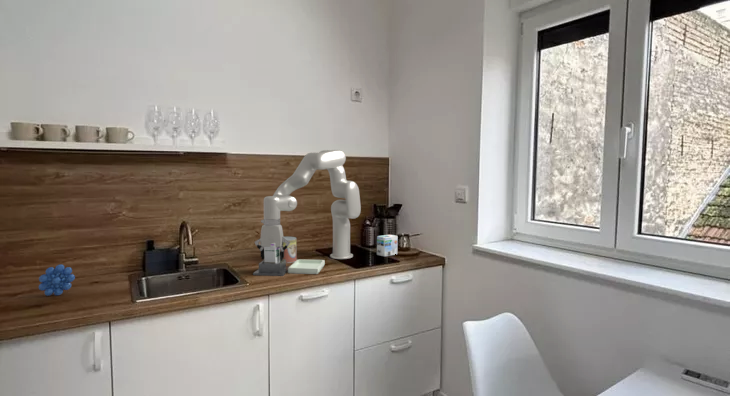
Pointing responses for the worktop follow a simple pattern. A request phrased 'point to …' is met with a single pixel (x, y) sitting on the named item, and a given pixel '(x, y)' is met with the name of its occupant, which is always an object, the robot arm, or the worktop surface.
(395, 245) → the light bulb box
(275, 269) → the sleeve holder
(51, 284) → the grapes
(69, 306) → the worktop surface
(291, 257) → the canned food
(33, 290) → the worktop surface
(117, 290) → the worktop surface
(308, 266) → the tray
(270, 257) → the syrup box
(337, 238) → the robot arm
